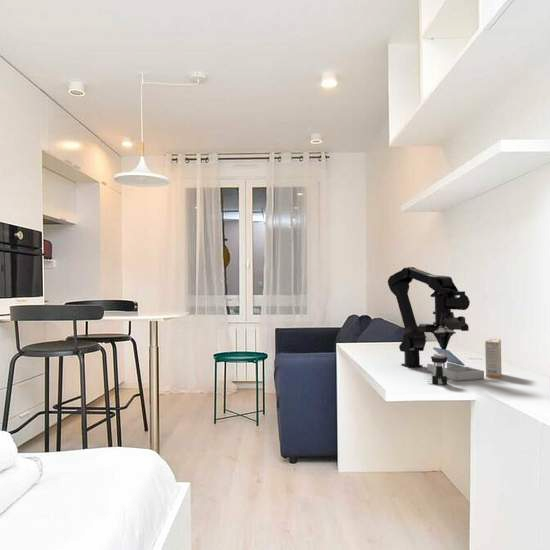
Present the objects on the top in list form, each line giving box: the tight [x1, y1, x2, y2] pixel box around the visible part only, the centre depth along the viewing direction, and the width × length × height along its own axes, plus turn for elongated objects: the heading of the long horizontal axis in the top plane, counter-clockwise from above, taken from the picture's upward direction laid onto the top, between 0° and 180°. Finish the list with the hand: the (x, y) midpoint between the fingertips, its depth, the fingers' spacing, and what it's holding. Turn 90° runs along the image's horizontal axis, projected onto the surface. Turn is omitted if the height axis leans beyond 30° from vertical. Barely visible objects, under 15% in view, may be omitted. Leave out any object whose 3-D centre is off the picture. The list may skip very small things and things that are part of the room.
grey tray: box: [426, 362, 485, 382], centre depth 170 cm, size 19×12×3 cm, turn 15°
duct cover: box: [432, 346, 466, 367], centre depth 174 cm, size 9×9×1 cm
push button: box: [426, 353, 448, 386], centre depth 156 cm, size 7×5×10 cm
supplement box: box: [484, 338, 502, 379], centre depth 169 cm, size 8×5×13 cm, turn 149°
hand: (443, 350), depth 174 cm, fingers closed
